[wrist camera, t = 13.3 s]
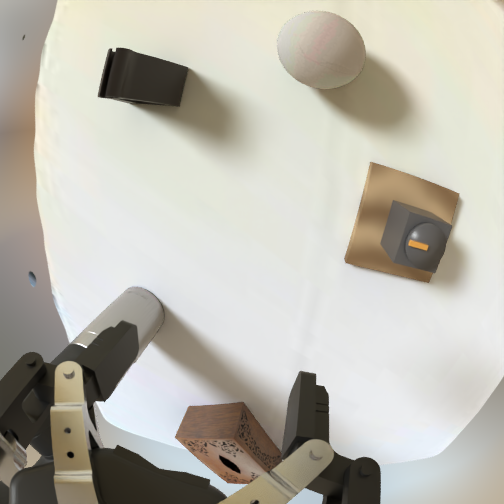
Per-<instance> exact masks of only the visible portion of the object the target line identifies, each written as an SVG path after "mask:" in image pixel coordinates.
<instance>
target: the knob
mask: <svg viewBox="0 0 504 504" xmlns="http://www.w3.org/2000/svg"><path fill="white" fill-rule="evenodd" d="M451 228H452V225H450V224H449V223H447V222H446V221H444V220H443V219H441V218H440V217H438V216H436V215H435V214H433V213H432V212H429V211H426V210H423V209H420V208H417V207H414V206H411V205H408V204H405V203H402V202H398V201H395V200H393V201H392V205H391V209H390V212H389V216H388V219H387V223H386V226H385V229H384V233H383V236H382V239H381V242H380V244H381V246H382V247H383V248H384V250H385V251H386V253H387V254H388V256H389V257H390V259H391V260H392V262H393V263H396V264H400V265H404V266H408V267H412V268H416V269H420V270H424V271H428V272H432V273H435V272H436V270H437V267H438V264H439V262H440V259H441V258H442V256H443V254H444V251H445V247H446V243H447V240H448V237H449V234H450V231H451Z"/></svg>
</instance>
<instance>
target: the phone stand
mask: <svg viewBox="0 0 504 504" xmlns="http://www.w3.org/2000/svg"><path fill="white" fill-rule="evenodd" d="M187 70H188V67H185V66H182V65H179V64H176V63H172V62H169V61H166V60H162V59H159V58H155V57H152V56H148V55H144V54H140V53H137V52H134V51H132V50H130V49H126V48H116V52H113V51H112V49H109V50H108V54H107V57H106V61H105V65H104V69H103V74H102V78H101V83H100V87H99V92H98V97H100V98H109V99H113V100H117V101H121V102H126V103H136V104H155V105H168V106H180V101H181V96H182V92H183V87H184V83H185V79H186V74H187Z"/></svg>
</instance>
